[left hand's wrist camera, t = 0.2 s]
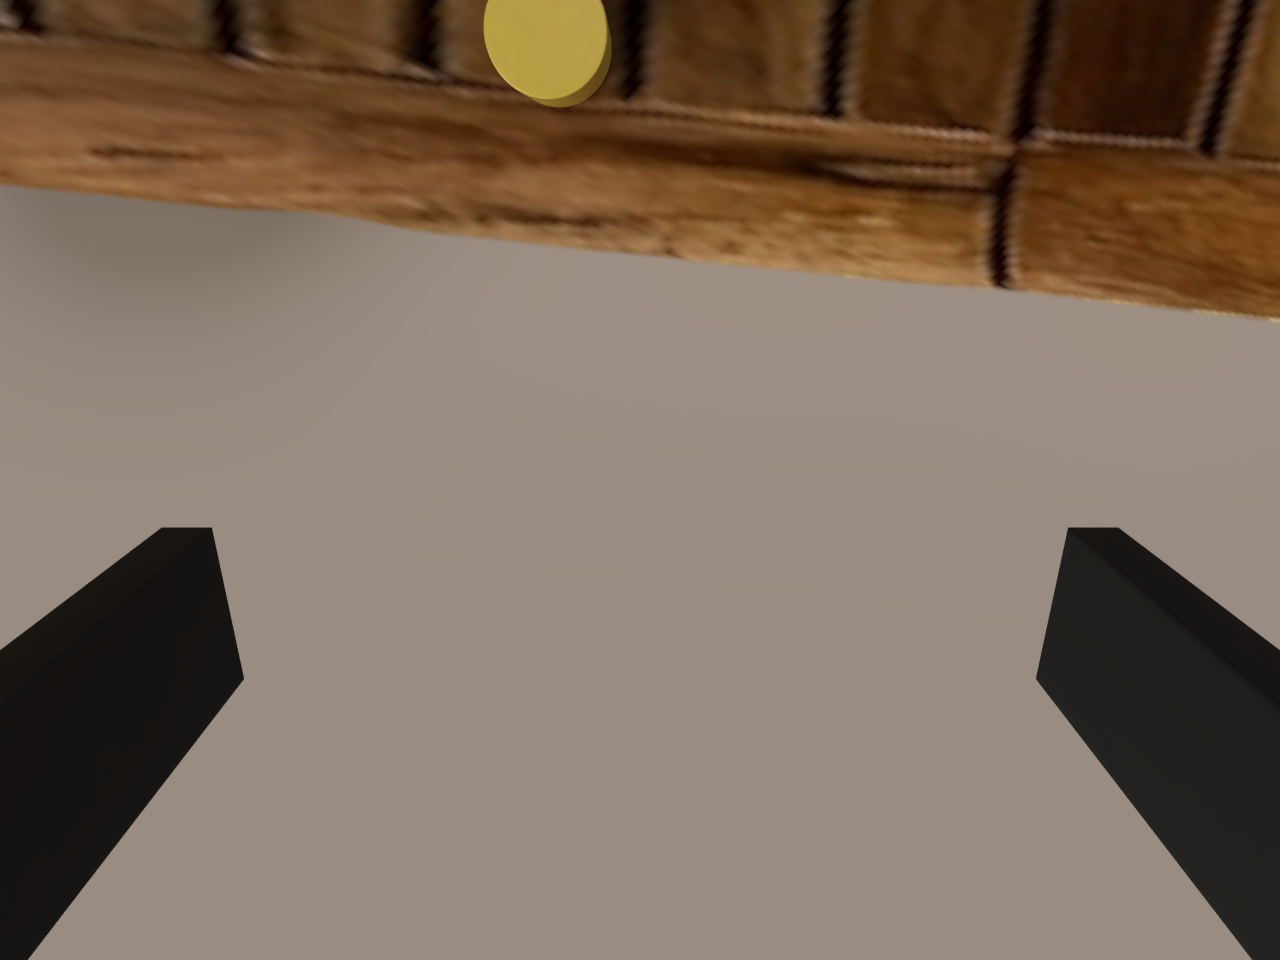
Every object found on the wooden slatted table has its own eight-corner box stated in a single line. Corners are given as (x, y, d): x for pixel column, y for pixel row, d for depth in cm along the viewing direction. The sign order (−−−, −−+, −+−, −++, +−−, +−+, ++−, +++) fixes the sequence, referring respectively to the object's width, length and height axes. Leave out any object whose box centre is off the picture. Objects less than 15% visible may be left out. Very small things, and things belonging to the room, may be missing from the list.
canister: (494, -7, 33) (472, -33, 29) (604, -22, 33) (598, -51, 29) (513, 113, 35) (495, 106, 31) (618, 100, 35) (614, 91, 31)
